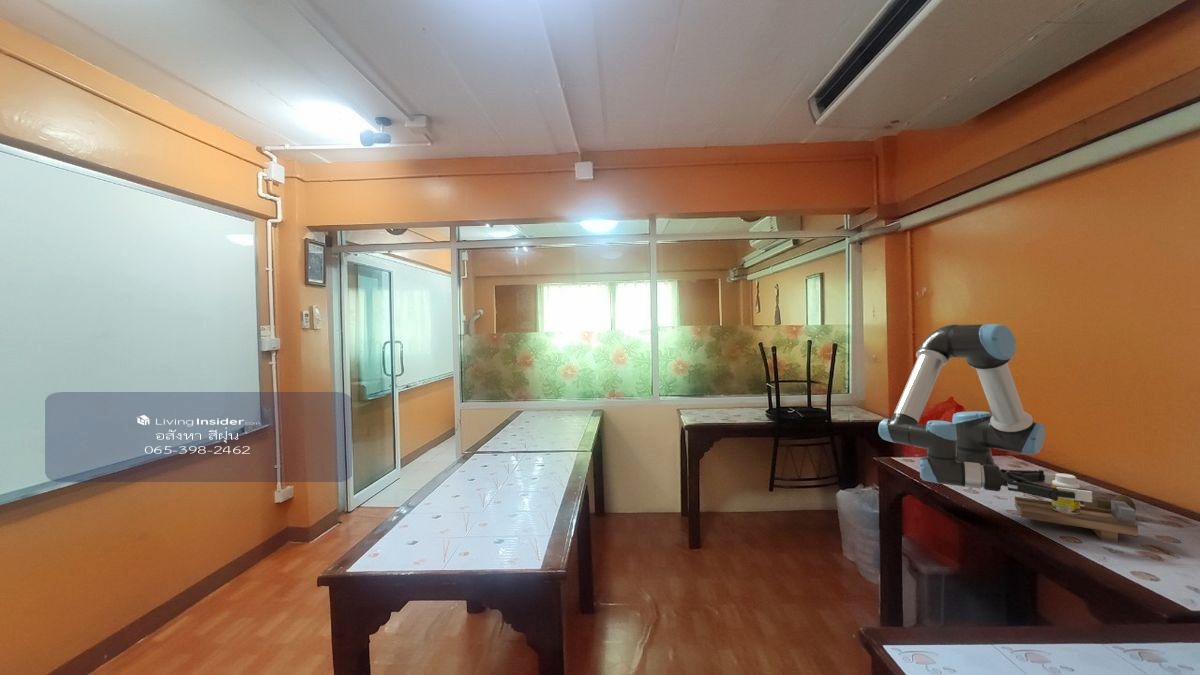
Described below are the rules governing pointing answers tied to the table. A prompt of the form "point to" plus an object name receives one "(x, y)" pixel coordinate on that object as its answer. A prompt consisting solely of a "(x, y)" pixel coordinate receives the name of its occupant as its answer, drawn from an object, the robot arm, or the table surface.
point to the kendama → (1108, 502)
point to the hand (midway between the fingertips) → (1083, 489)
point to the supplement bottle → (1066, 504)
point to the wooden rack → (1084, 517)
